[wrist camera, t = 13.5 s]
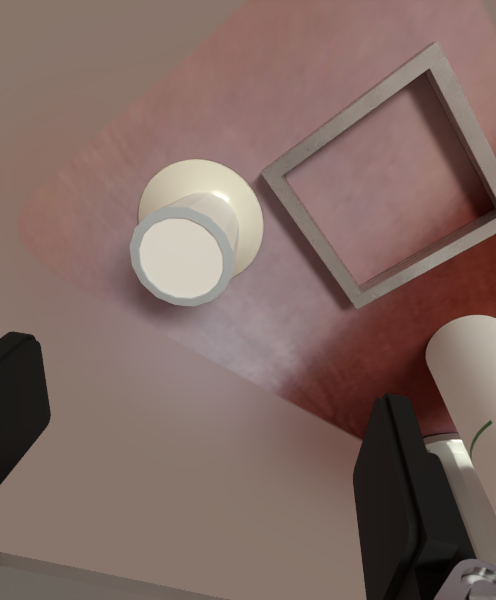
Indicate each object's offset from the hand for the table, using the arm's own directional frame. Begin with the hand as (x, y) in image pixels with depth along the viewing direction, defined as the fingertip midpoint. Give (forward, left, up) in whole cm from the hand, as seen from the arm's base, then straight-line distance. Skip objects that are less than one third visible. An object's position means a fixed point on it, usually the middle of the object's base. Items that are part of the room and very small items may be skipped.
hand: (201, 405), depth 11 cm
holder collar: (-4, -8, -23) cm, 24 cm away
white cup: (+1, +5, -23) cm, 23 cm away
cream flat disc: (+2, +5, -23) cm, 23 cm away
